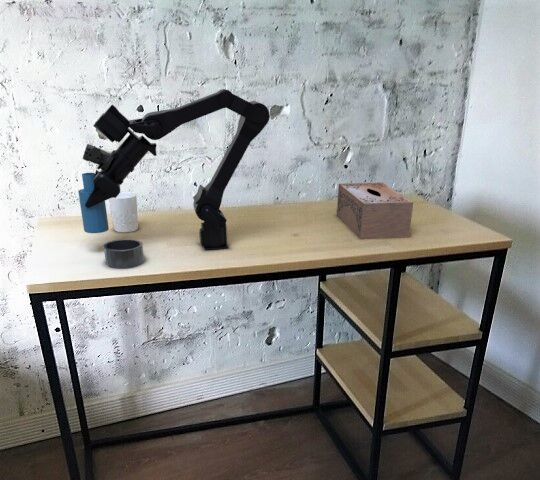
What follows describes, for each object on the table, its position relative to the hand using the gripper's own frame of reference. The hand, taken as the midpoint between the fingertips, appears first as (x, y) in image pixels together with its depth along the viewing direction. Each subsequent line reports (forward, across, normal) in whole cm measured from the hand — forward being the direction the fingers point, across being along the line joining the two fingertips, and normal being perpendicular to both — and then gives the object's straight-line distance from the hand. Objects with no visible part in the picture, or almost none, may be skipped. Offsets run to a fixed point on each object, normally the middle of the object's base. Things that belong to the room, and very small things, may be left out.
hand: (87, 203), depth 139 cm
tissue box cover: (-48, -12, +67) cm, 83 cm away
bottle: (+4, 0, +6) cm, 7 cm away
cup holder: (+4, +9, +15) cm, 17 cm away
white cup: (+4, -20, +15) cm, 26 cm away
